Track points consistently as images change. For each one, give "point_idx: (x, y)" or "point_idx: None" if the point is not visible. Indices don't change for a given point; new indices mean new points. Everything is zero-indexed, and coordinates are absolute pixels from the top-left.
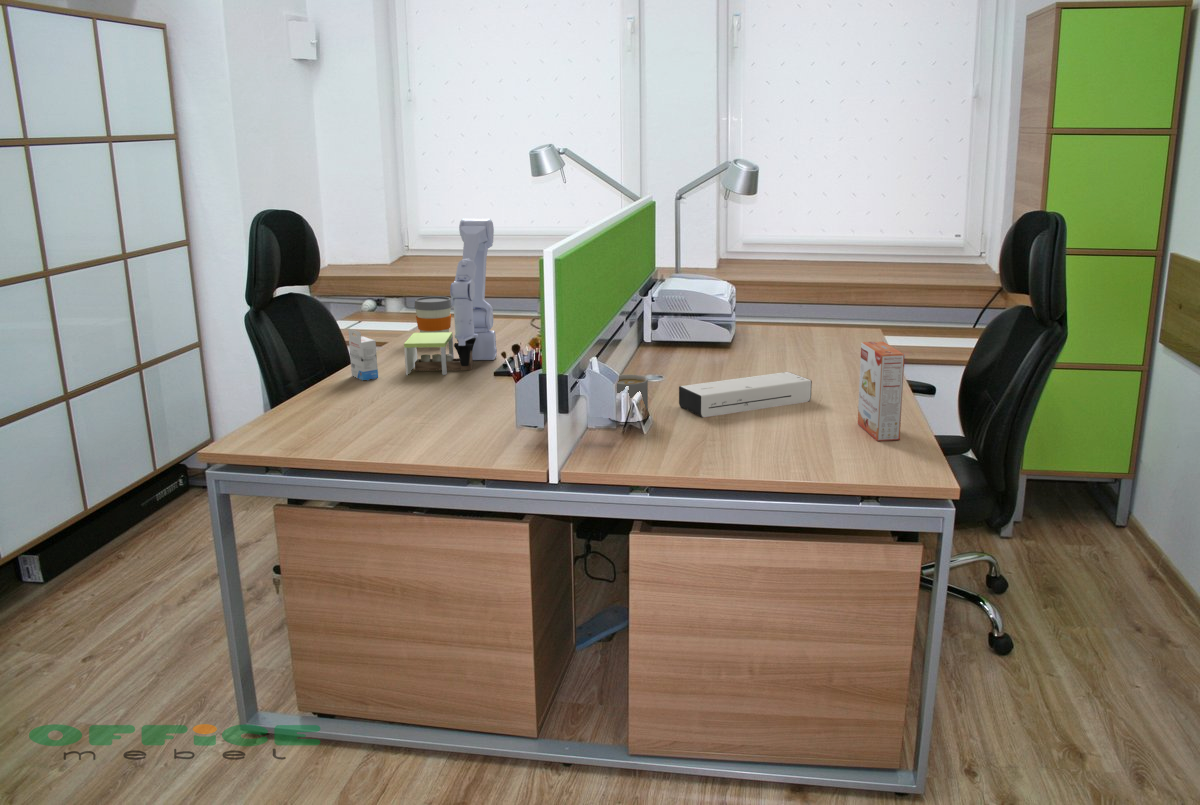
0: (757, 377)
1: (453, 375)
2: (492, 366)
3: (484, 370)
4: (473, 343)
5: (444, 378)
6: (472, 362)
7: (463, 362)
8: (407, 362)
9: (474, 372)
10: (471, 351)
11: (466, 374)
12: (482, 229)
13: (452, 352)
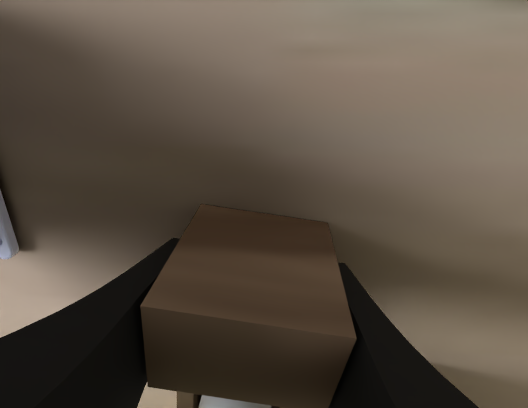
0: None
1: (448, 328)
2: (218, 12)
3: (378, 108)
4: (54, 395)
5: (503, 370)
6: (205, 224)
7: None
8: None
9: (421, 199)
10: (196, 315)
11: (463, 257)
12: None
13: None
